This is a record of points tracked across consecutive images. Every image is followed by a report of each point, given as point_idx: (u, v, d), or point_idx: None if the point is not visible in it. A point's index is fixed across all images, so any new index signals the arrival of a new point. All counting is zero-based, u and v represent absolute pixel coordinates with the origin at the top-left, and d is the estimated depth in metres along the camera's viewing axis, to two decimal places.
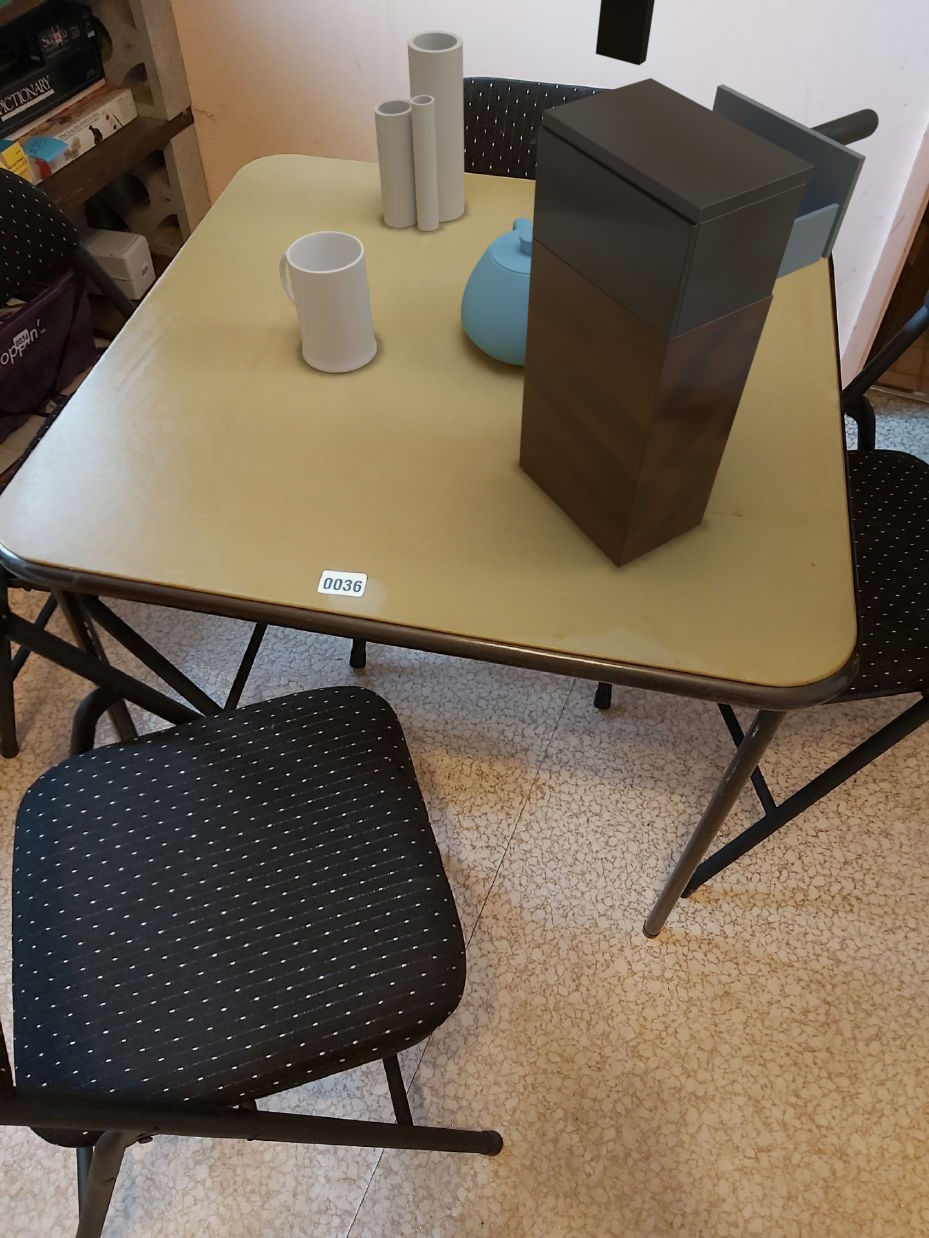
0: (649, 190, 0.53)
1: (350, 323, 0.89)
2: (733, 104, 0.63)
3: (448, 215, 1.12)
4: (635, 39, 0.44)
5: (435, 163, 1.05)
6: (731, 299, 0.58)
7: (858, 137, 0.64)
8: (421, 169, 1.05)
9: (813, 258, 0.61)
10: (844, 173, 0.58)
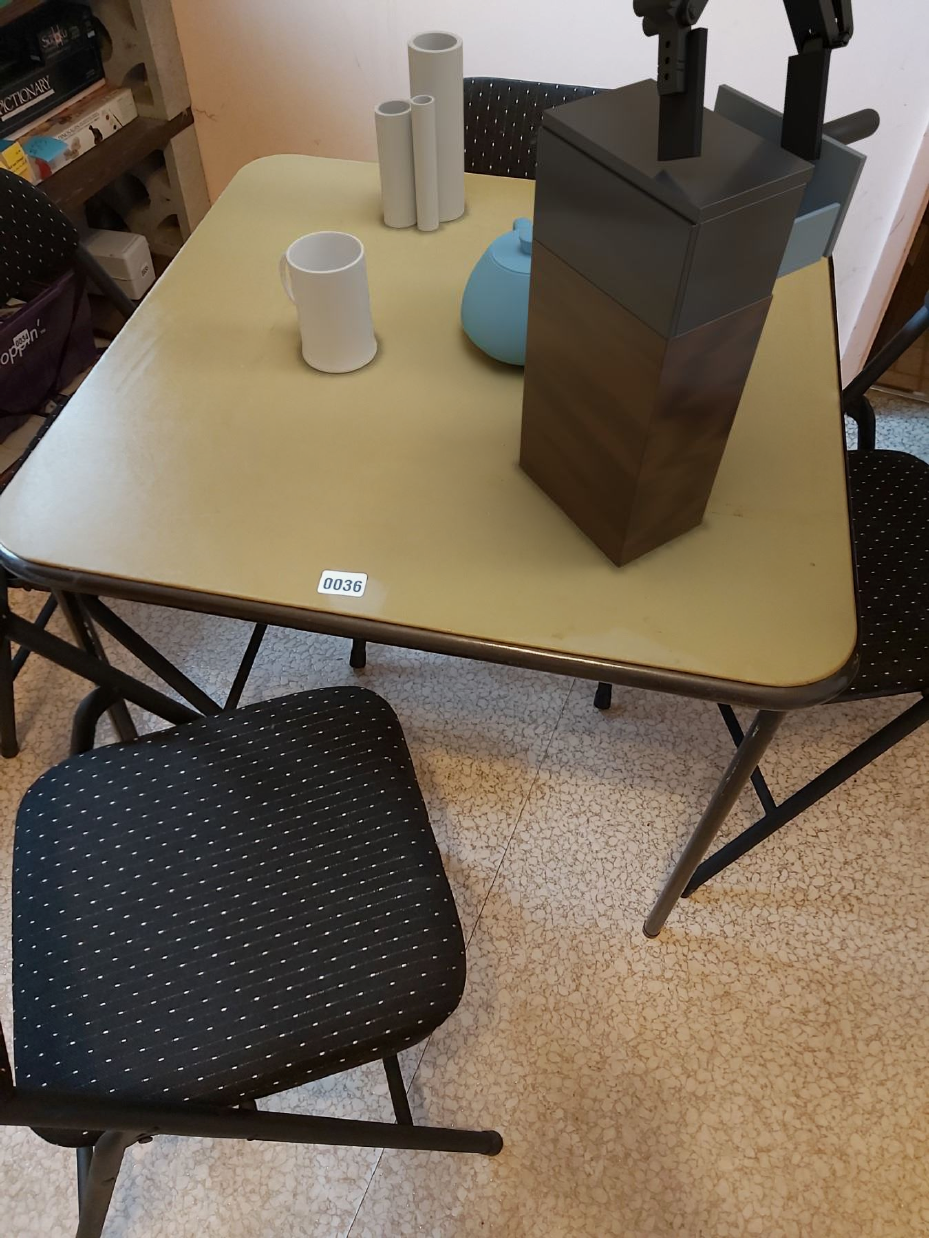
0: (649, 190, 0.53)
1: (350, 323, 0.89)
2: (734, 104, 0.63)
3: (448, 215, 1.12)
4: (688, 135, 0.50)
5: (435, 163, 1.05)
6: (731, 299, 0.58)
7: (859, 137, 0.64)
8: (421, 169, 1.05)
9: (814, 258, 0.61)
10: (845, 172, 0.58)
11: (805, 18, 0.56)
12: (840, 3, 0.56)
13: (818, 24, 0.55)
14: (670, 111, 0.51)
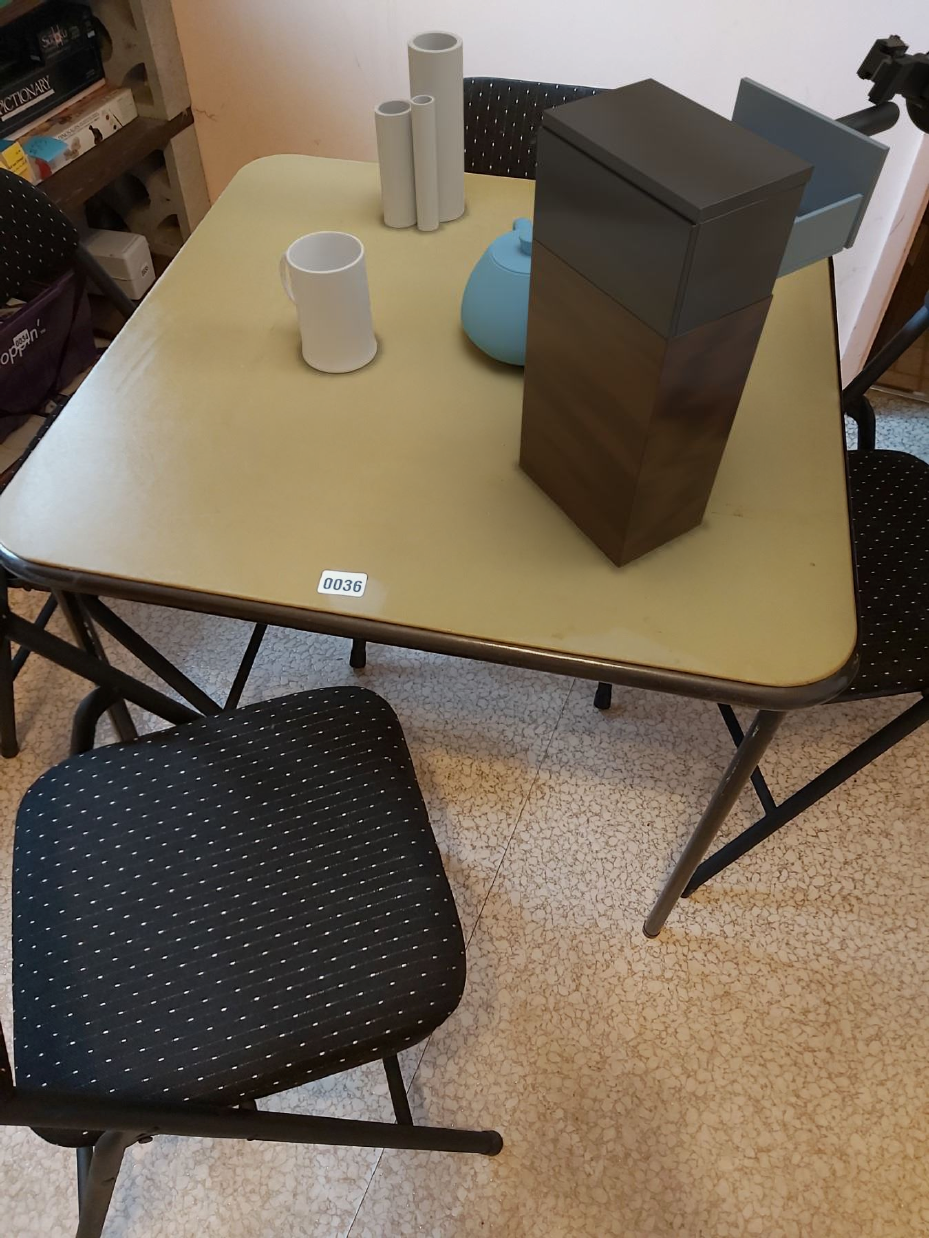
0: (649, 190, 0.53)
1: (350, 323, 0.89)
2: (756, 96, 0.64)
3: (448, 215, 1.12)
4: None
5: (435, 163, 1.05)
6: (731, 299, 0.58)
7: (880, 129, 0.65)
8: (421, 169, 1.05)
9: (836, 249, 0.62)
10: (868, 164, 0.59)
11: None
12: None
13: None
14: None
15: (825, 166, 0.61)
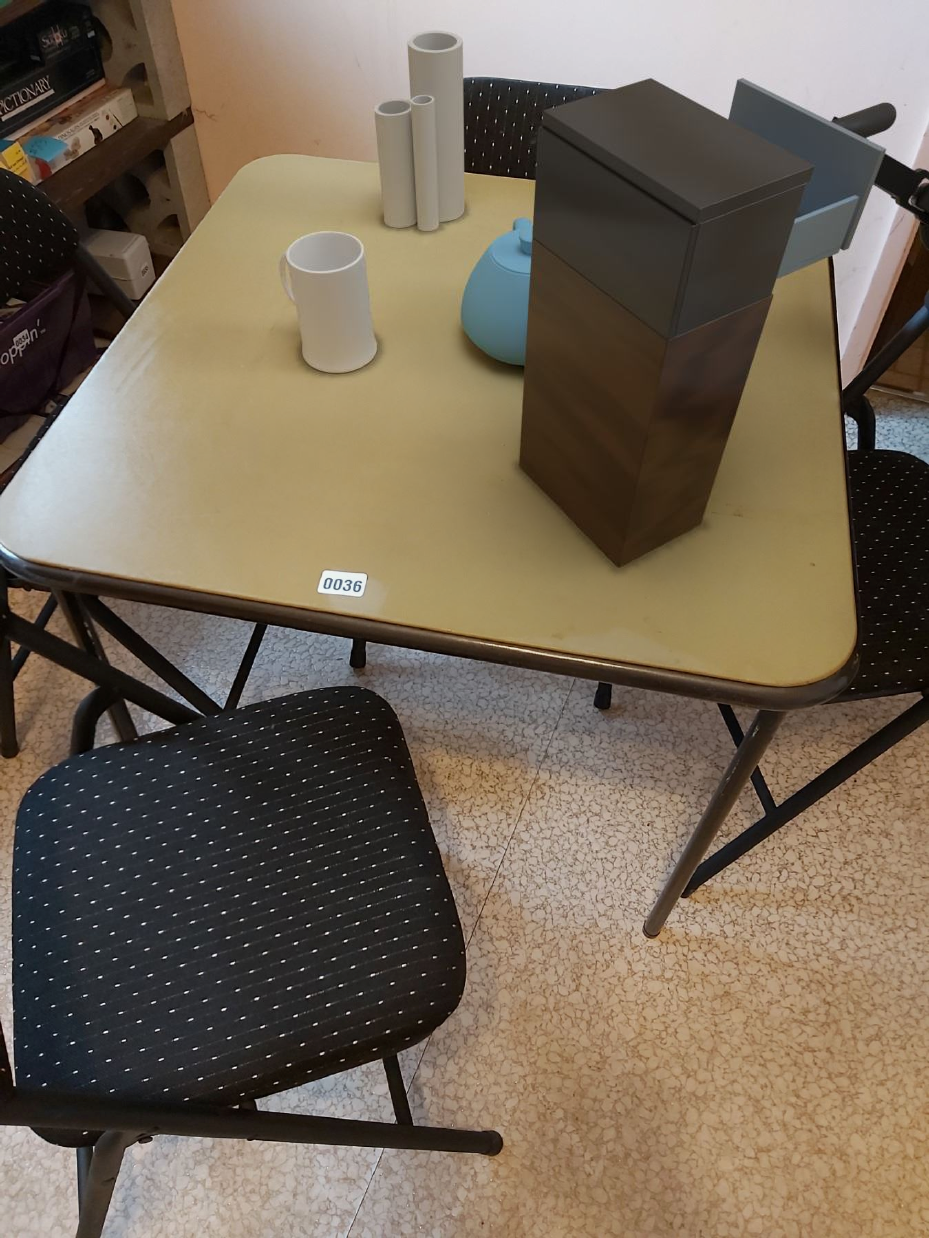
0: (649, 190, 0.53)
1: (350, 323, 0.89)
2: (753, 98, 0.64)
3: (448, 215, 1.12)
4: None
5: (435, 163, 1.05)
6: (731, 299, 0.58)
7: (876, 130, 0.65)
8: (421, 169, 1.05)
9: (832, 250, 0.62)
10: (864, 165, 0.59)
11: None
12: None
13: None
14: None
15: (822, 168, 0.61)
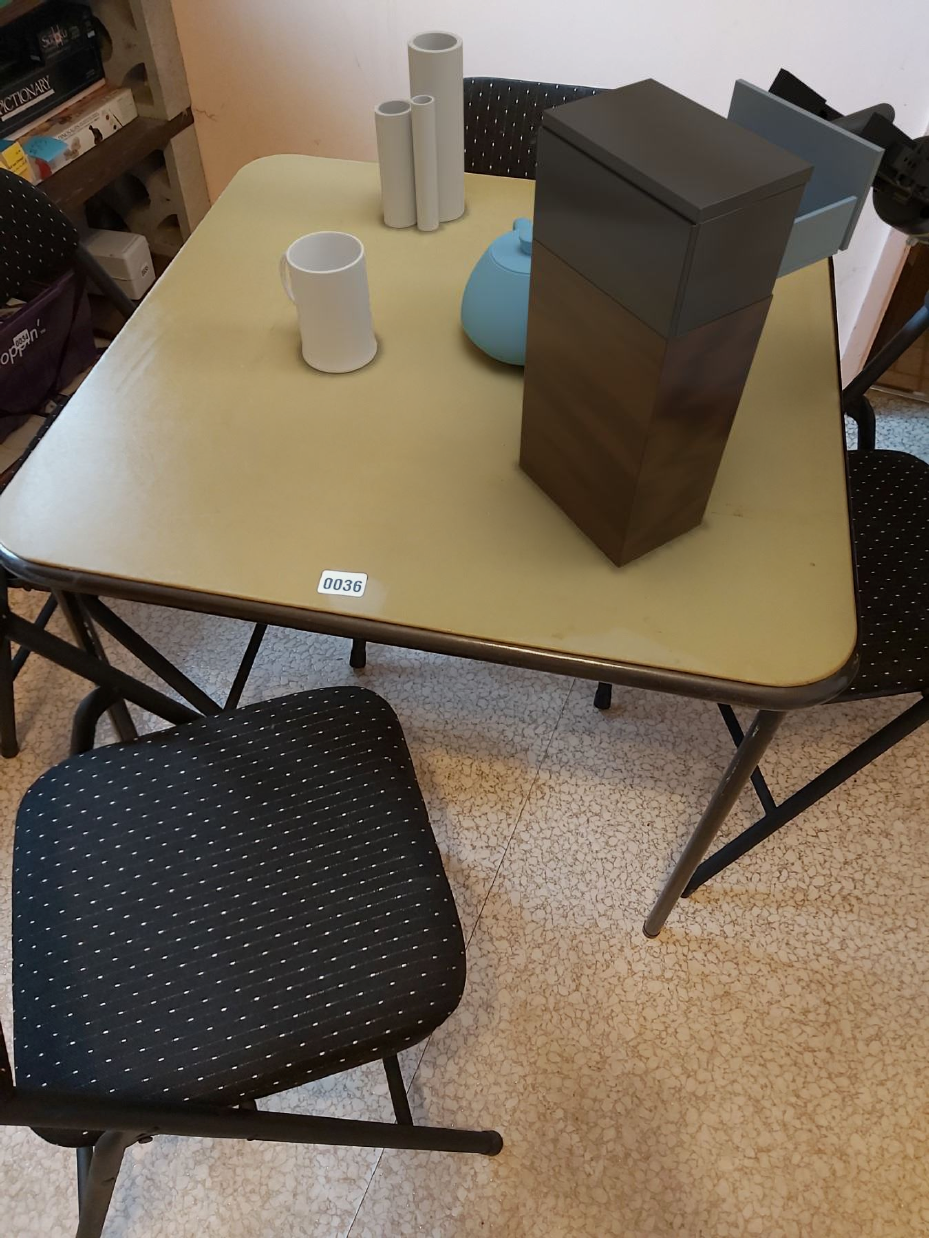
0: (649, 190, 0.53)
1: (350, 323, 0.89)
2: (751, 98, 0.64)
3: (448, 215, 1.12)
4: None
5: (435, 163, 1.05)
6: (731, 299, 0.58)
7: None
8: (421, 169, 1.05)
9: (831, 251, 0.62)
10: (863, 166, 0.58)
11: None
12: None
13: None
14: None
15: (820, 168, 0.61)
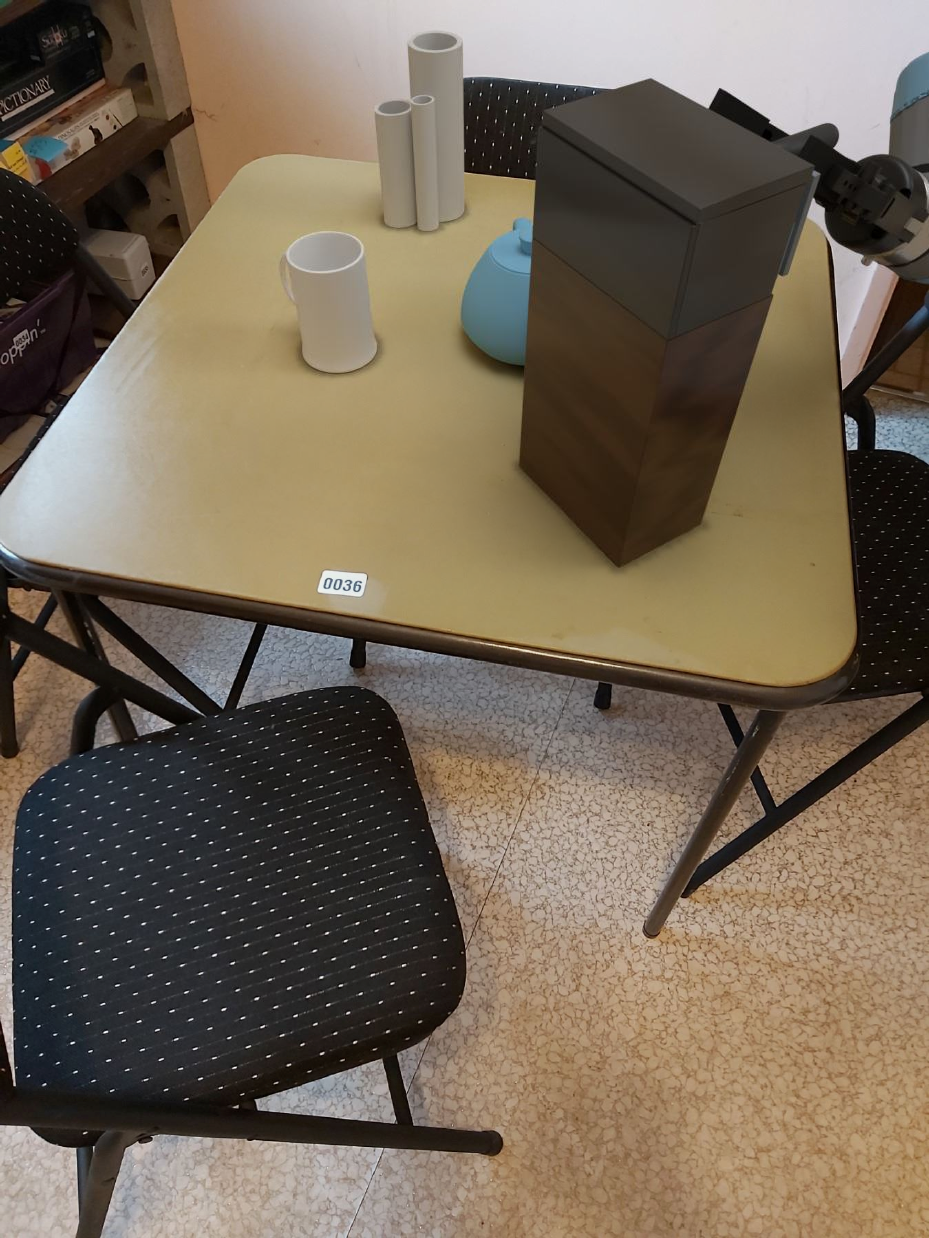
0: (649, 190, 0.53)
1: (350, 323, 0.89)
2: None
3: (448, 215, 1.12)
4: None
5: (435, 163, 1.05)
6: (731, 299, 0.58)
7: None
8: (421, 169, 1.05)
9: None
10: None
11: None
12: None
13: None
14: None
15: None
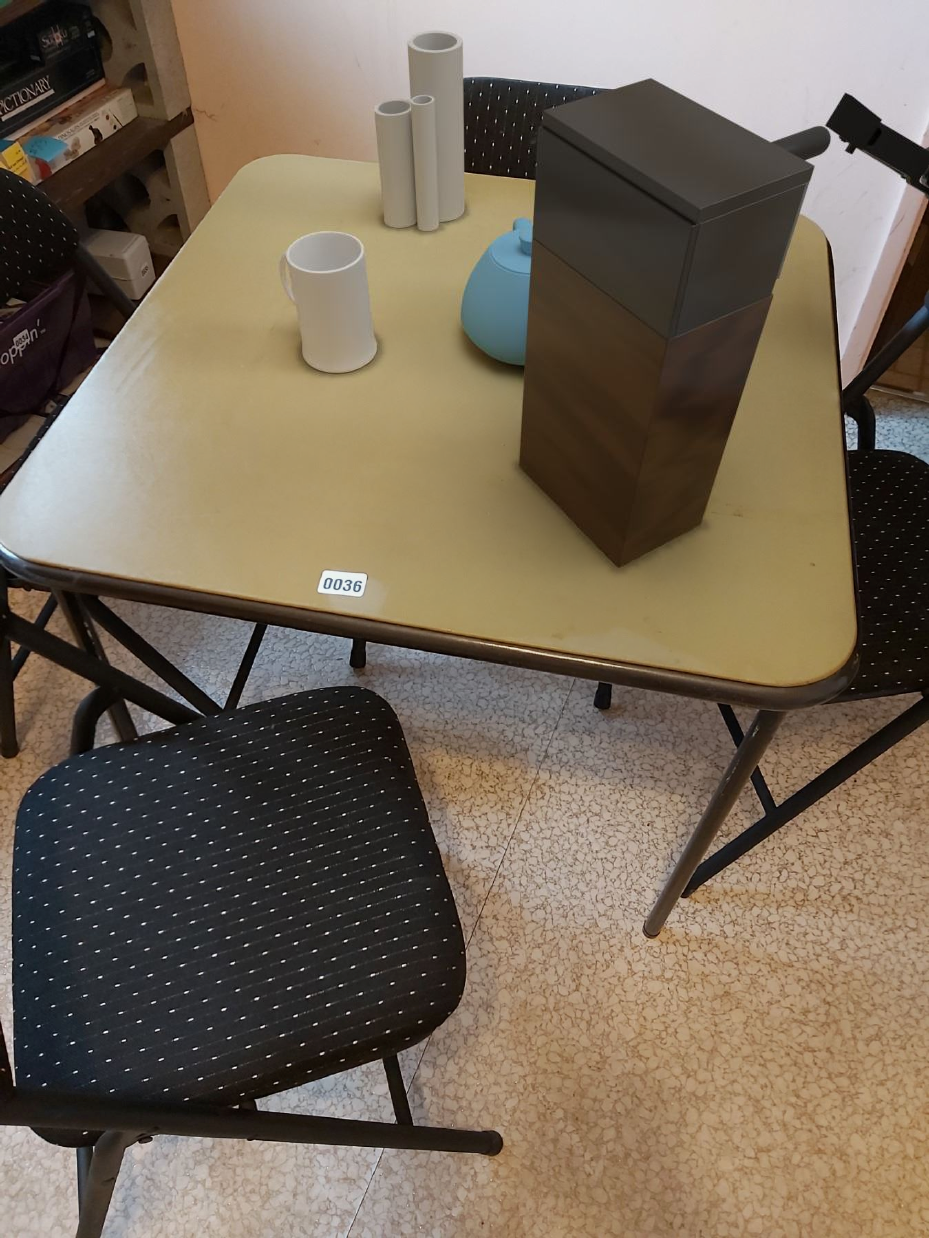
0: (649, 190, 0.53)
1: (350, 323, 0.89)
2: None
3: (448, 215, 1.12)
4: None
5: (435, 163, 1.05)
6: (731, 299, 0.58)
7: (809, 155, 0.63)
8: (421, 169, 1.05)
9: None
10: None
11: None
12: None
13: None
14: None
15: None
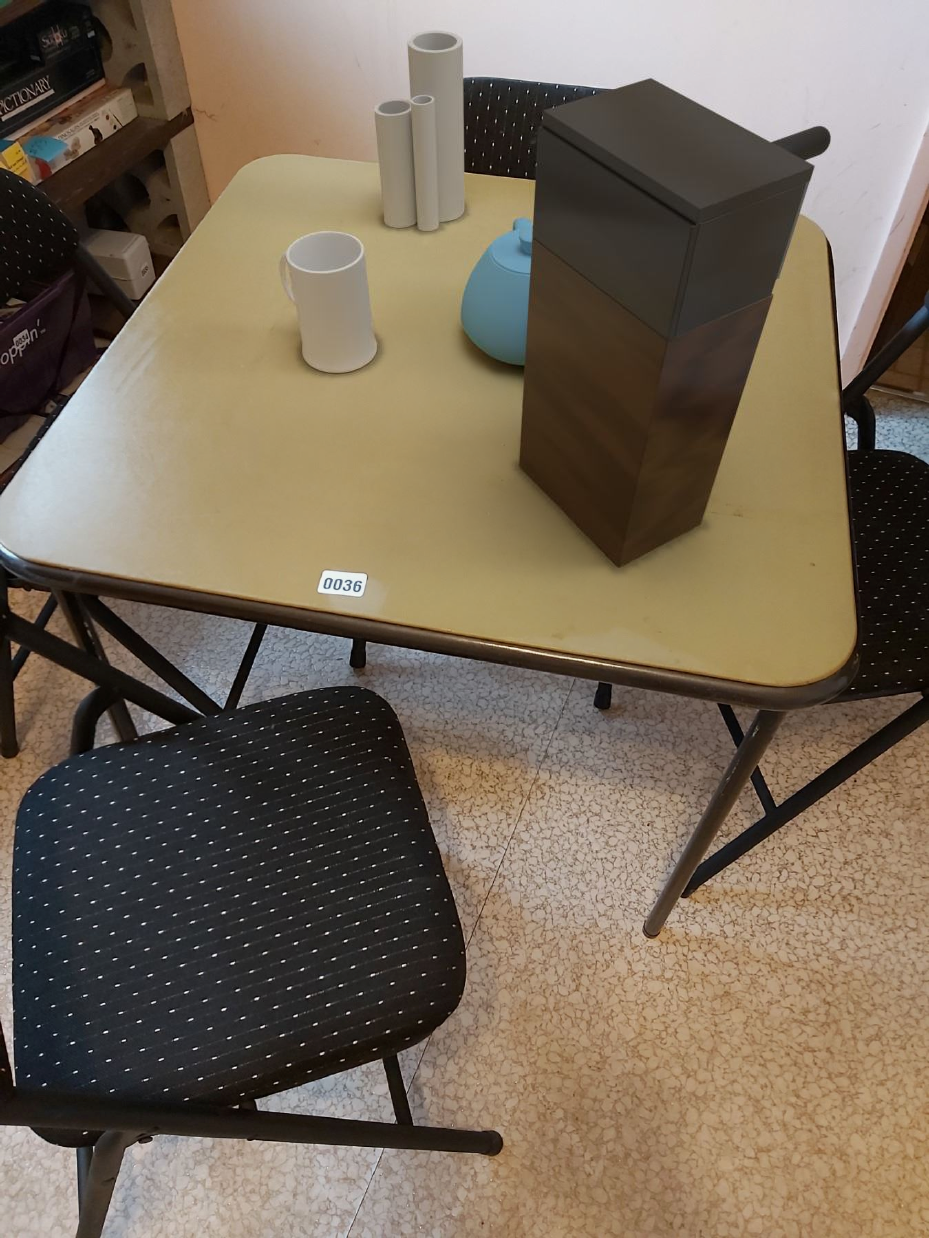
0: (649, 190, 0.53)
1: (350, 323, 0.89)
2: None
3: (448, 215, 1.12)
4: None
5: (435, 163, 1.05)
6: (731, 299, 0.58)
7: (809, 155, 0.63)
8: (421, 169, 1.05)
9: None
10: None
11: None
12: None
13: None
14: None
15: None
